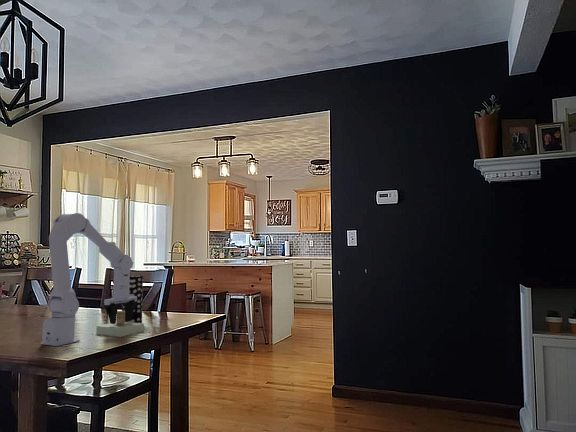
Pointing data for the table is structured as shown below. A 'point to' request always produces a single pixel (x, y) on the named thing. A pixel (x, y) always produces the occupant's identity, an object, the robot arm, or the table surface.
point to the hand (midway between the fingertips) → (120, 322)
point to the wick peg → (120, 318)
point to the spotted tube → (137, 290)
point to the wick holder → (120, 329)
